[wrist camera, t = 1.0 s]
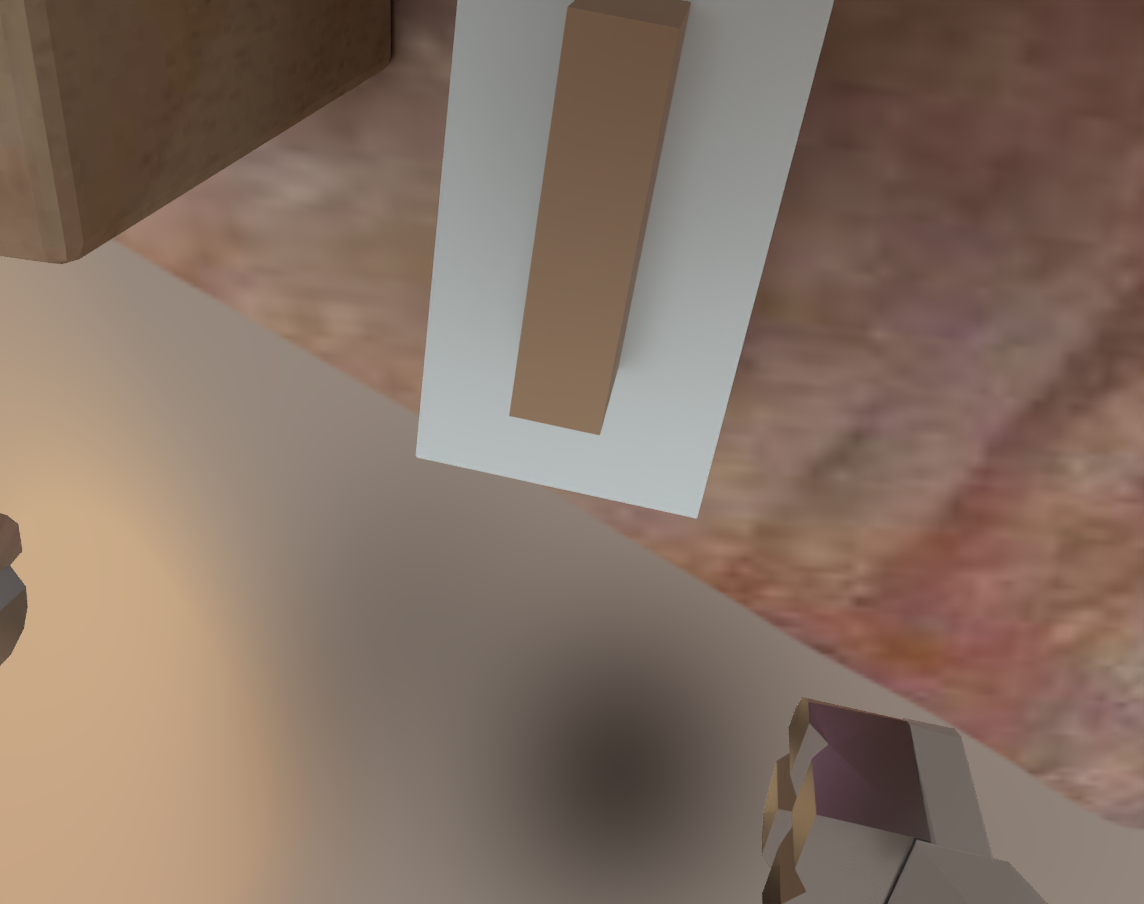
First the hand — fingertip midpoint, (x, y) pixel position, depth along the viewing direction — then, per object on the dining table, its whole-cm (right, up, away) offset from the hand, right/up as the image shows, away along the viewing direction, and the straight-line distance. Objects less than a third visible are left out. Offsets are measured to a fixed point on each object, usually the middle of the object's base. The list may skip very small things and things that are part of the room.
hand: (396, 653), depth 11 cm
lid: (+3, +9, +18) cm, 21 cm away
